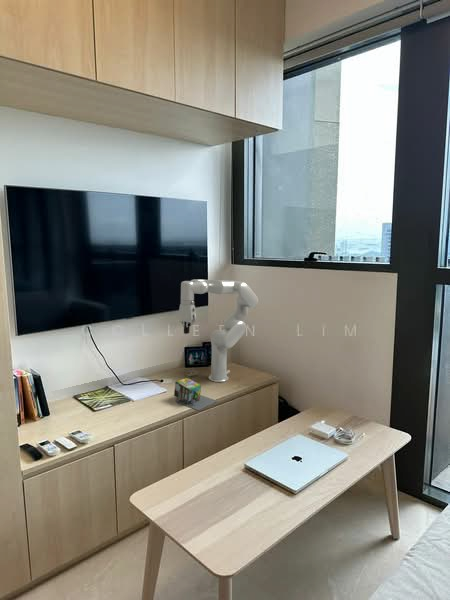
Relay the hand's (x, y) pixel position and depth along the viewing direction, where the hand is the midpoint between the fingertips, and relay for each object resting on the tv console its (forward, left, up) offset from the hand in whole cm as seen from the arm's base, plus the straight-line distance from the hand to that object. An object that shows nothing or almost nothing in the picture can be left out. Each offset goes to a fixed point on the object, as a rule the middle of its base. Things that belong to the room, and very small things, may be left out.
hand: (186, 333), depth 235 cm
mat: (+14, +21, -32) cm, 41 cm away
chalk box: (+15, +10, -26) cm, 32 cm away
